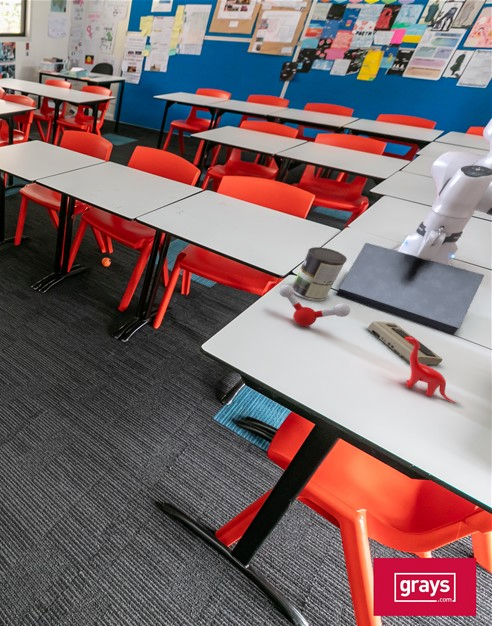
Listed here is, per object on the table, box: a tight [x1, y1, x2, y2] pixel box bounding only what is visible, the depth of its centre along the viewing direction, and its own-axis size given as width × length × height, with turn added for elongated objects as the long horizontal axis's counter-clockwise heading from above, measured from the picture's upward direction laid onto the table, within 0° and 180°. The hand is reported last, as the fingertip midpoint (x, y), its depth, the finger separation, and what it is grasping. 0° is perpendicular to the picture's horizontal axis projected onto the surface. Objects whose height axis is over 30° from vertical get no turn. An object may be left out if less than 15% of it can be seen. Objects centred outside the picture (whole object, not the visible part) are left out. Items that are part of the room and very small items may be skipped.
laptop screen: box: [338, 242, 485, 331], centre depth 130 cm, size 21×30×1 cm
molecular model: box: [278, 284, 351, 327], centre depth 120 cm, size 18×6×10 cm, turn 46°
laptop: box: [335, 289, 458, 336], centre depth 135 cm, size 21×30×2 cm
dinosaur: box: [405, 336, 457, 404], centre depth 98 cm, size 4×15×12 cm, turn 50°
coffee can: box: [291, 246, 348, 302], centre depth 134 cm, size 10×10×14 cm
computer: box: [367, 320, 444, 366], centre depth 115 cm, size 16×8×3 cm, turn 4°
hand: (418, 262), depth 135 cm, fingers closed
